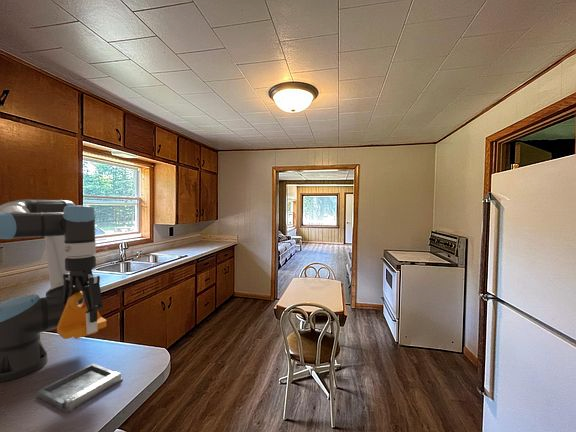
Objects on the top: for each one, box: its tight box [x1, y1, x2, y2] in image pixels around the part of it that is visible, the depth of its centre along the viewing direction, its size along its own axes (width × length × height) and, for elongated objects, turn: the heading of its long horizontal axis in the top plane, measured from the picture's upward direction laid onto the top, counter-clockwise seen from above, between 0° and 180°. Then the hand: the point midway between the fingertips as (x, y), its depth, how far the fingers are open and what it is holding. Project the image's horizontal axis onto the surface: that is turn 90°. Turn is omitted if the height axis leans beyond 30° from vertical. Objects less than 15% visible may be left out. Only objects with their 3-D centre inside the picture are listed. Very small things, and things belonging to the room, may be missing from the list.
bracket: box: [56, 291, 107, 340], centre depth 83 cm, size 11×7×12 cm, turn 143°
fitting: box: [36, 362, 124, 414], centre depth 81 cm, size 15×15×2 cm
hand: (82, 329), depth 83 cm, fingers closed on bracket, 8 cm apart
